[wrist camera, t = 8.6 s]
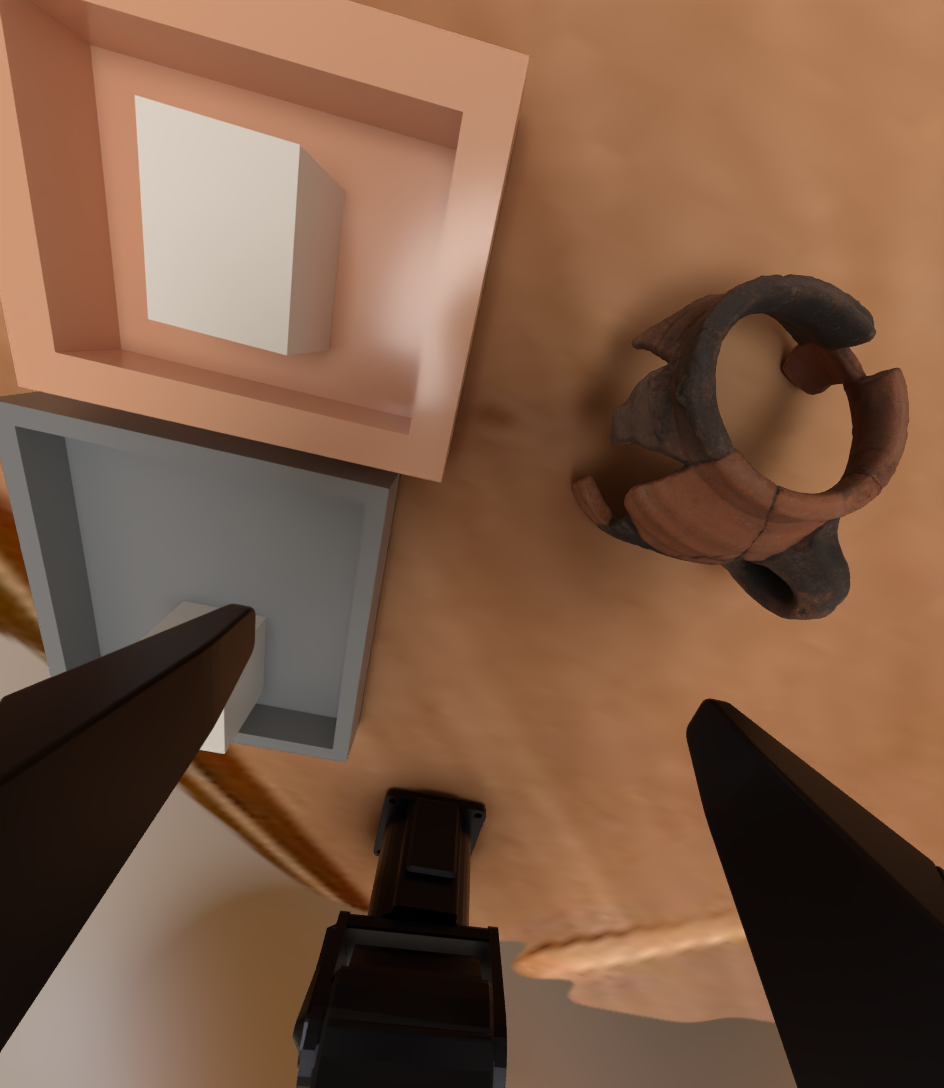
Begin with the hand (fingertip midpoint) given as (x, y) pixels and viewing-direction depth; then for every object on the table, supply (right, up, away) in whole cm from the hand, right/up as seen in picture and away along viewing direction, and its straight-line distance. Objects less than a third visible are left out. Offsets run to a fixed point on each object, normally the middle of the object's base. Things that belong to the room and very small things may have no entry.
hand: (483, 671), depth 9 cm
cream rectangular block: (-7, +12, +7) cm, 16 cm away
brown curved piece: (+9, +6, +10) cm, 15 cm away
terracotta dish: (-7, +13, +7) cm, 16 cm away
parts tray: (-12, 0, +13) cm, 18 cm away
